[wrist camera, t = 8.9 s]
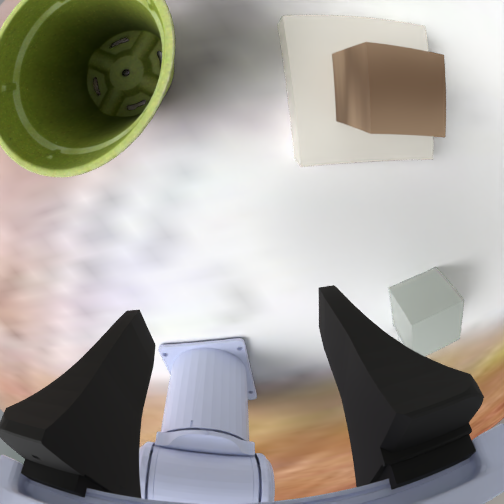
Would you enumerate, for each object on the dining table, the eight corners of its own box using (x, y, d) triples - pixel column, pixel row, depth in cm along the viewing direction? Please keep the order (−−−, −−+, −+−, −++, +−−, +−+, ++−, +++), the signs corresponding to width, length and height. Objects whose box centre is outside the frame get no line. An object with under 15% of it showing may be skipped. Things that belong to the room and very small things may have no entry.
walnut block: (397, 122, 16) (445, 137, 11) (336, 121, 16) (370, 133, 11) (395, 59, 14) (443, 54, 9) (331, 53, 14) (365, 41, 9)
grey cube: (436, 305, 26) (459, 338, 22) (393, 324, 27) (412, 362, 23) (435, 266, 24) (464, 299, 20) (388, 287, 25) (411, 325, 20)
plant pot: (181, -13, 13) (144, -72, 6) (220, 114, 18) (204, 128, 10) (56, 46, 14) (-28, 40, 6) (92, 161, 19) (18, 207, 11)
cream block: (411, 149, 19) (433, 159, 17) (292, 156, 20) (300, 167, 17) (403, 31, 15) (425, 26, 12) (276, 26, 15) (282, 15, 13)
